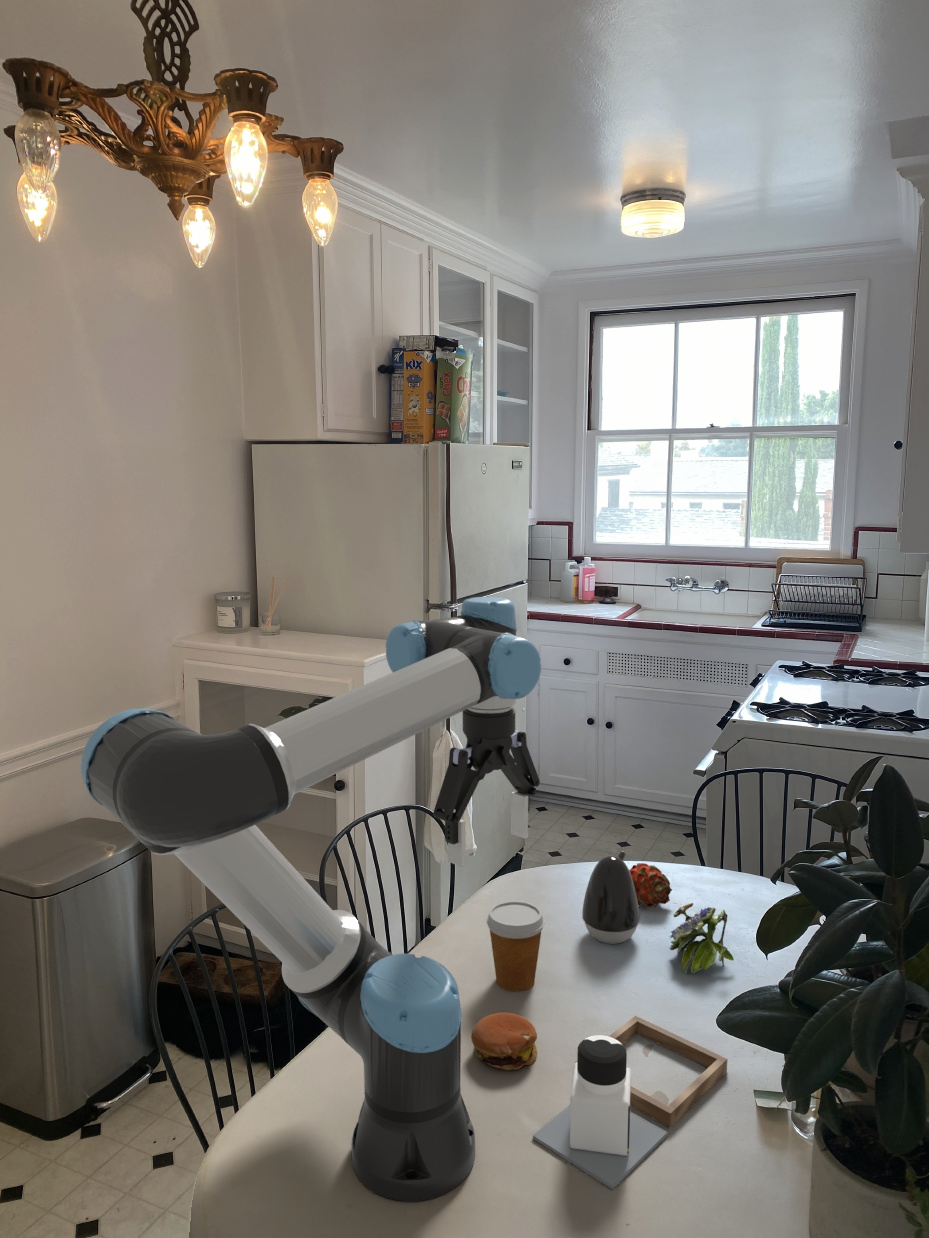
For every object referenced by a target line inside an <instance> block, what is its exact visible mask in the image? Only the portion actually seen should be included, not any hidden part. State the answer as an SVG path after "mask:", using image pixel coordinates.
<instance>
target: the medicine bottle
mask: <svg viewBox="0 0 929 1238" xmlns="http://www.w3.org/2000/svg"><path fill="white" fill-rule="evenodd" d="M608 1036H609V1035H601V1034H600V1035H599V1034H597V1035H590V1036H587V1037H586V1038H584V1039H583V1040H582V1041H580V1043H579V1044H578V1046H577V1054H576V1055H577V1060H576V1061H577V1062H576V1061H575V1062H576V1063H575V1062H574V1066H573V1074H572V1075H573V1076H572V1083H571V1090H570V1099H569V1100H570V1101H569V1103H570V1104H569V1105H570V1147H571V1148H573V1149H580V1150H587V1151H594V1152H601V1153H608V1154H615V1155H623V1156H627V1155H628V1154H629V1130H630V1112H631V1106H630V1093H631V1085H632V1084H631V1083H632V1082H631V1081H632V1070H631V1068H630V1067H627V1058H628V1056H627V1055H628V1053H627V1052H628V1051H627V1049H626V1047H625V1046H624V1044H623V1045H622V1044H621V1043H620V1042H619V1041H618V1040H616V1039H614V1038H612V1037H608Z"/></svg>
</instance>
